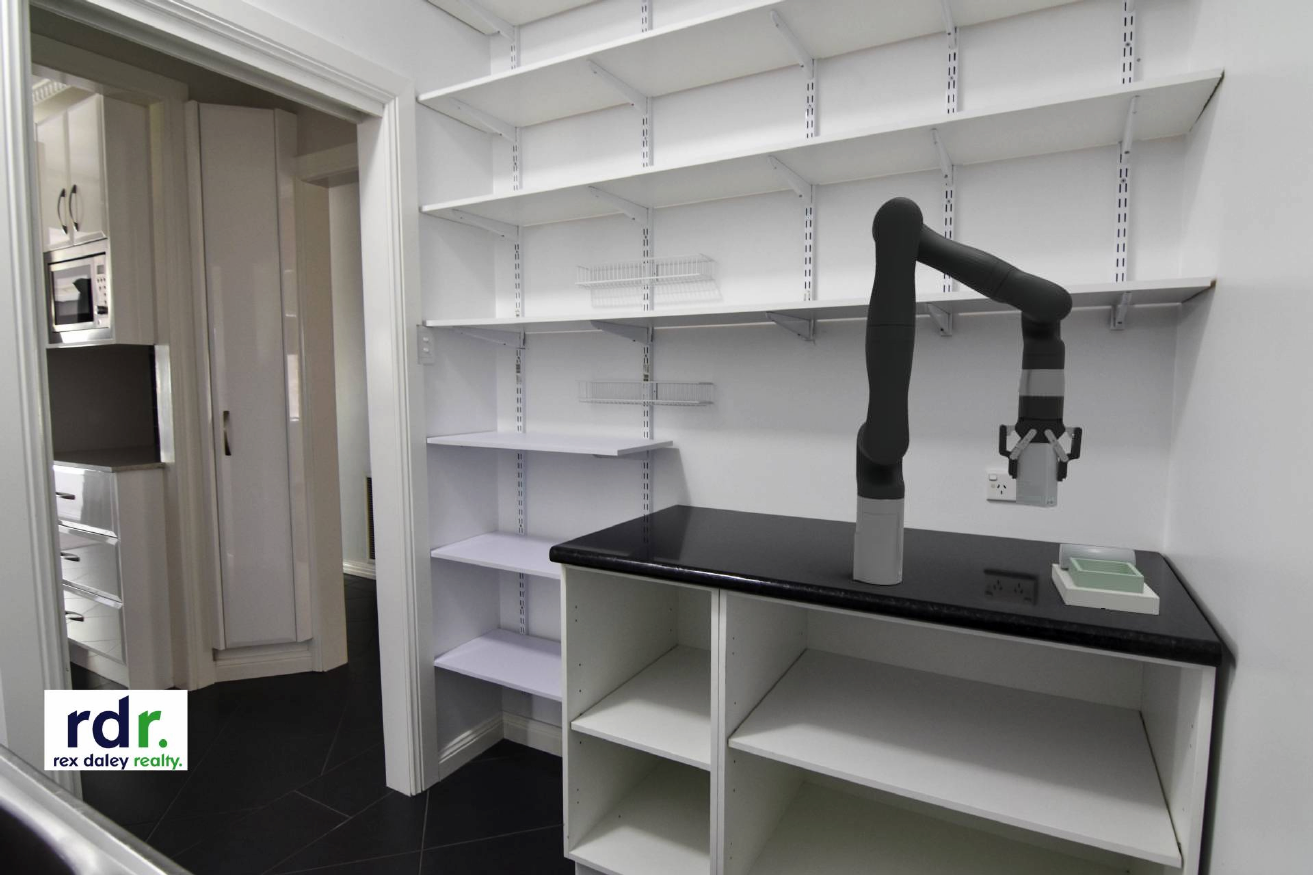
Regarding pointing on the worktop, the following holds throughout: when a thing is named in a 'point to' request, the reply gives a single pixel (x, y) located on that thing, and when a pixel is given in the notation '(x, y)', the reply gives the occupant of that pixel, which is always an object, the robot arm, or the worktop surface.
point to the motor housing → (1100, 597)
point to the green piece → (1106, 575)
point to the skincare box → (1037, 475)
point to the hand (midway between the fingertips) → (1036, 479)
